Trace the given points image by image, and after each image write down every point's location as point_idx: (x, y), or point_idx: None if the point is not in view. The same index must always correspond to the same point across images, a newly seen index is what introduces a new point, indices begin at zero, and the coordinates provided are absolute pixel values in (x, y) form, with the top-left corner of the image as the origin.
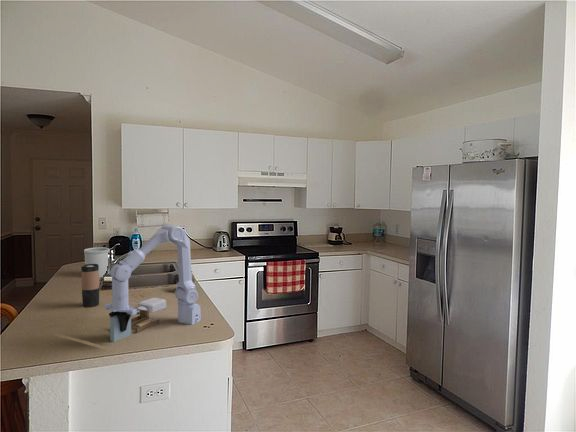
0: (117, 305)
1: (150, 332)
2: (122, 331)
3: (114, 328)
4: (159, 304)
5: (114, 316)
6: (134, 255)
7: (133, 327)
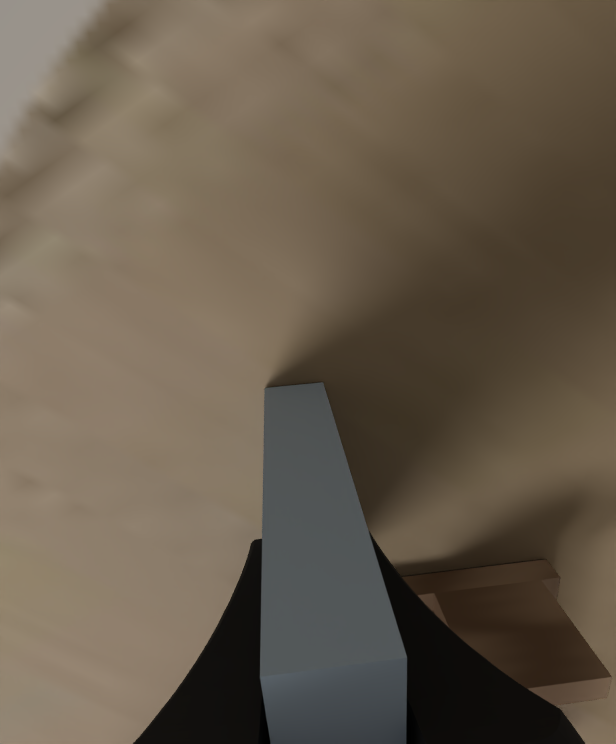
0: None
1: None
2: (251, 548)
3: (263, 503)
4: None
5: (363, 733)
6: None
7: None
